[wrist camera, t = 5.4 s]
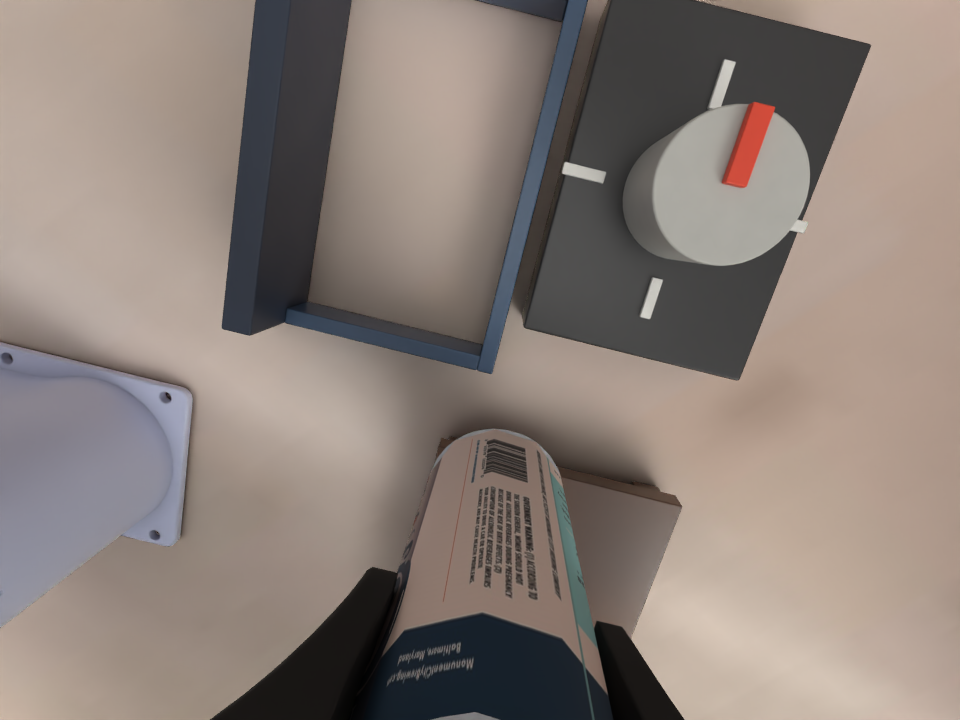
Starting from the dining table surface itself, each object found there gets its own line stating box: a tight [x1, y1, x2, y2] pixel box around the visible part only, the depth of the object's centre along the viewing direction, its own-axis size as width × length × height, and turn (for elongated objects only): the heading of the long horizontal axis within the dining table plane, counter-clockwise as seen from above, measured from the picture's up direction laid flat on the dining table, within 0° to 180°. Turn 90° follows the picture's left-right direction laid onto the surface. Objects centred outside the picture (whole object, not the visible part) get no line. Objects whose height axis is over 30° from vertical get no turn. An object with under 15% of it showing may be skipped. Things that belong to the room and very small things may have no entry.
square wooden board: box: [434, 436, 682, 639], centre depth 22 cm, size 10×10×2 cm
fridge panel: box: [522, 0, 871, 380], centre depth 17 cm, size 11×8×3 cm
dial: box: [623, 102, 810, 266], centre depth 14 cm, size 4×4×4 cm
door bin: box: [222, 0, 588, 374], centre depth 17 cm, size 9×13×4 cm
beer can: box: [349, 429, 613, 720], centre depth 12 cm, size 5×5×12 cm
